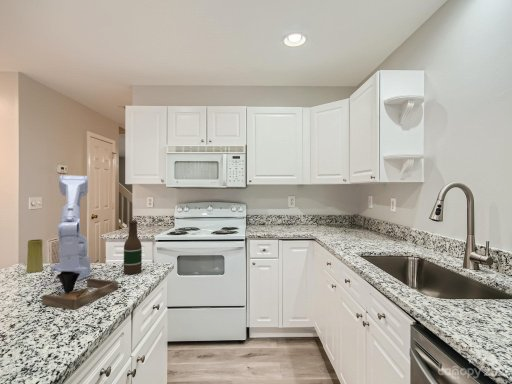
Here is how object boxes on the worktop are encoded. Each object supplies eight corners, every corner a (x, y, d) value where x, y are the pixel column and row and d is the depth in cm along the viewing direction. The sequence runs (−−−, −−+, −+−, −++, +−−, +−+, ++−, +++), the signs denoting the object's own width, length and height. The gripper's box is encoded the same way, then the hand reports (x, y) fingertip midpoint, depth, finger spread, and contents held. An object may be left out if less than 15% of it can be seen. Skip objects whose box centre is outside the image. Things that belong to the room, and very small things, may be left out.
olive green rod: (35, 268, 125) (35, 238, 125) (46, 269, 124) (47, 239, 124) (22, 272, 119) (22, 241, 119) (34, 273, 118) (34, 241, 118)
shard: (89, 291, 99) (89, 286, 99) (98, 296, 94) (98, 291, 94) (54, 301, 90) (54, 296, 90) (62, 307, 86) (62, 301, 86)
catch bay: (89, 285, 103) (89, 278, 103) (117, 289, 100) (118, 281, 100) (42, 304, 86) (42, 295, 86) (75, 309, 83) (75, 300, 83)
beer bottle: (136, 269, 126) (136, 219, 126) (145, 272, 122) (145, 220, 122) (119, 273, 120) (120, 220, 120) (128, 276, 115) (129, 222, 115)
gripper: (42, 255, 92) (41, 294, 92) (75, 258, 89) (74, 298, 89) (61, 251, 99) (61, 287, 99) (92, 253, 96) (92, 291, 96)
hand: (68, 292), depth 94 cm, fingers closed
